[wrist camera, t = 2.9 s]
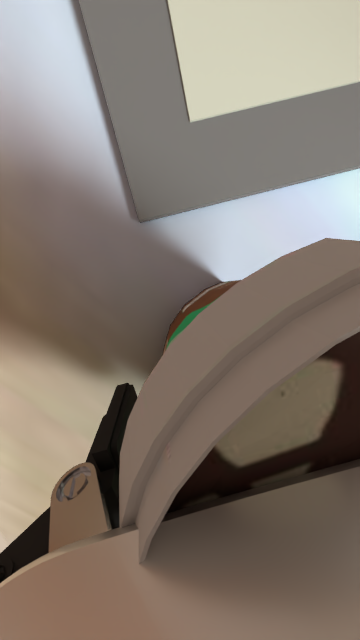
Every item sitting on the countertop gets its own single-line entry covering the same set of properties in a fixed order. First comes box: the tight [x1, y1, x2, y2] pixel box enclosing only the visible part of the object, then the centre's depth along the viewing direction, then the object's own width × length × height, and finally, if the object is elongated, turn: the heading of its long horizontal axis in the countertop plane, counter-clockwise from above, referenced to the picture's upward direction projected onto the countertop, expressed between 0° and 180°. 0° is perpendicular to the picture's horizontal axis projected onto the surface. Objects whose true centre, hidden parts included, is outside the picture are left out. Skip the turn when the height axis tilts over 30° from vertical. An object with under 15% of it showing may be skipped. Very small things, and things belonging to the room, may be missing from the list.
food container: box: [119, 238, 360, 564], centre depth 8 cm, size 12×6×10 cm, turn 17°
